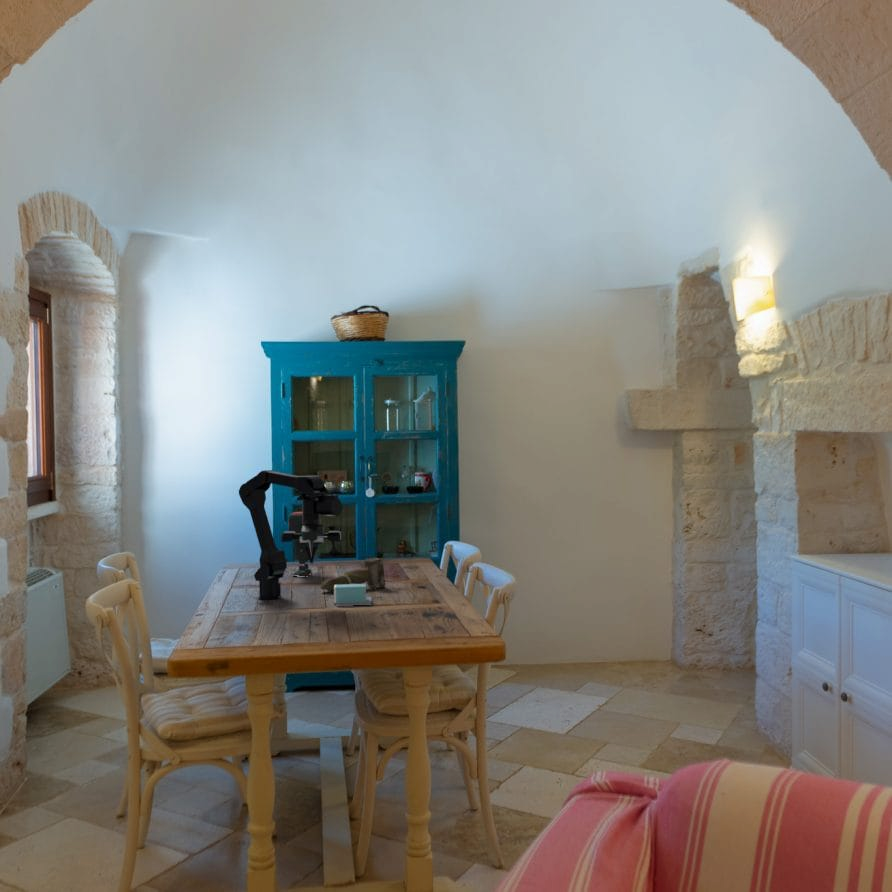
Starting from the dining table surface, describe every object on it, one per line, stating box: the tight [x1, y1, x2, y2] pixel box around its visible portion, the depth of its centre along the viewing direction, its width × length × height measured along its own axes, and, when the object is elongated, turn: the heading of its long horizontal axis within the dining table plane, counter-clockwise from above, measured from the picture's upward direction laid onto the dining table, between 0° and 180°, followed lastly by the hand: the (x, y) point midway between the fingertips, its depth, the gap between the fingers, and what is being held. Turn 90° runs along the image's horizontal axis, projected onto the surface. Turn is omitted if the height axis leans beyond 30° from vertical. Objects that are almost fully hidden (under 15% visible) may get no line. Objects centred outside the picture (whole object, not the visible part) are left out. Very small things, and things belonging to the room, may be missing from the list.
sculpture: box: [319, 557, 386, 593], centre depth 292 cm, size 8×22×15 cm
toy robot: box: [287, 500, 313, 576], centre depth 322 cm, size 22×9×30 cm, turn 178°
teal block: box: [333, 583, 367, 604], centre depth 269 cm, size 5×5×10 cm
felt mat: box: [335, 596, 373, 607], centre depth 269 cm, size 11×12×1 cm
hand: (311, 563), depth 270 cm, fingers closed
